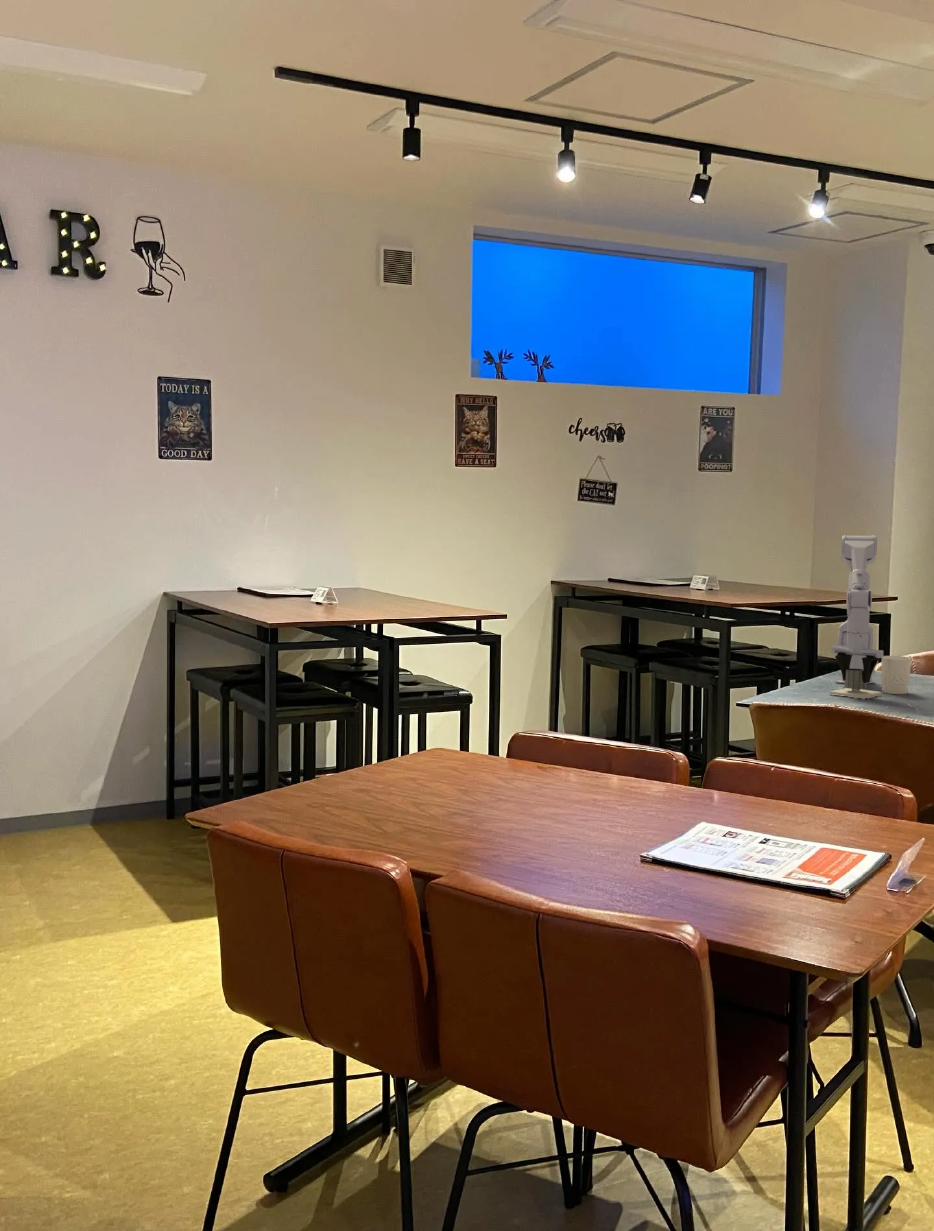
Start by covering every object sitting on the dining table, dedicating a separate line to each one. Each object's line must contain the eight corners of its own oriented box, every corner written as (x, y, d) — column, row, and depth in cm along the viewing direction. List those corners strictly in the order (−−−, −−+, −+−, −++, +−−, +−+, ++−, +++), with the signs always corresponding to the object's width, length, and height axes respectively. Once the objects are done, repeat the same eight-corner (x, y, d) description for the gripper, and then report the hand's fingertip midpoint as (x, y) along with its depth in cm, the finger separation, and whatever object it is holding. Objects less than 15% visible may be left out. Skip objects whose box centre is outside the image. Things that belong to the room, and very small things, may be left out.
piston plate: (848, 691, 340) (848, 675, 339) (881, 695, 332) (881, 679, 332) (829, 695, 333) (830, 678, 332) (863, 699, 325) (863, 683, 325)
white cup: (889, 689, 343) (891, 655, 342) (915, 693, 337) (916, 657, 336) (874, 692, 338) (876, 657, 337) (900, 695, 332) (901, 660, 331)
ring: (851, 685, 336) (851, 667, 336) (869, 687, 332) (870, 669, 332) (841, 687, 332) (842, 669, 332) (860, 689, 328) (860, 671, 328)
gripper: (826, 631, 333) (824, 679, 335) (875, 635, 323) (873, 685, 324) (839, 629, 338) (837, 677, 339) (887, 634, 328) (886, 683, 329)
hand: (856, 681), depth 332 cm, fingers closed on ring, 6 cm apart
